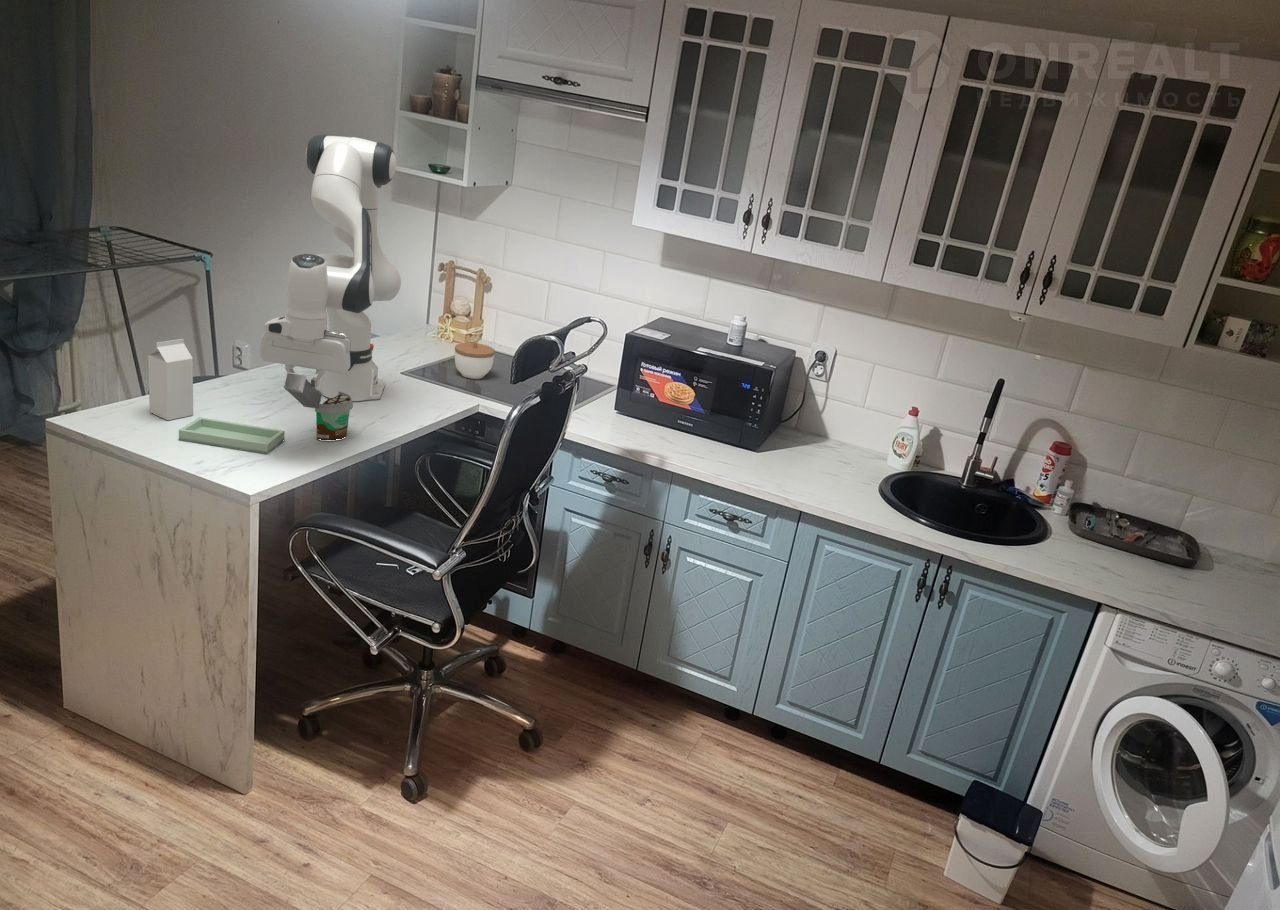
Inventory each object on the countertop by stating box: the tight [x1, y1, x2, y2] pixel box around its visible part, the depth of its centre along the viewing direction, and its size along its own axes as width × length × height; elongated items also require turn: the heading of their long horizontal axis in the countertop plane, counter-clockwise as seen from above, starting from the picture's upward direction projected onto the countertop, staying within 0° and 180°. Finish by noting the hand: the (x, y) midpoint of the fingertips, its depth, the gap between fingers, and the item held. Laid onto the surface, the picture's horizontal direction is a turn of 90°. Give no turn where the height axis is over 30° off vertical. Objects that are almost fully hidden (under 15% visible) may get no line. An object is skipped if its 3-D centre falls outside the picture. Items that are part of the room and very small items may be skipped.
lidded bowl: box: [454, 341, 496, 380], centre depth 305 cm, size 13×13×11 cm
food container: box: [314, 392, 354, 440], centre depth 239 cm, size 12×6×10 cm, turn 169°
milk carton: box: [147, 338, 194, 421], centre depth 235 cm, size 7×7×19 cm
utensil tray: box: [178, 416, 286, 455], centre depth 228 cm, size 10×21×2 cm, turn 87°
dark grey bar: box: [283, 371, 323, 409], centre depth 223 cm, size 15×4×4 cm
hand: (304, 384), depth 223 cm, fingers closed on dark grey bar, 3 cm apart
